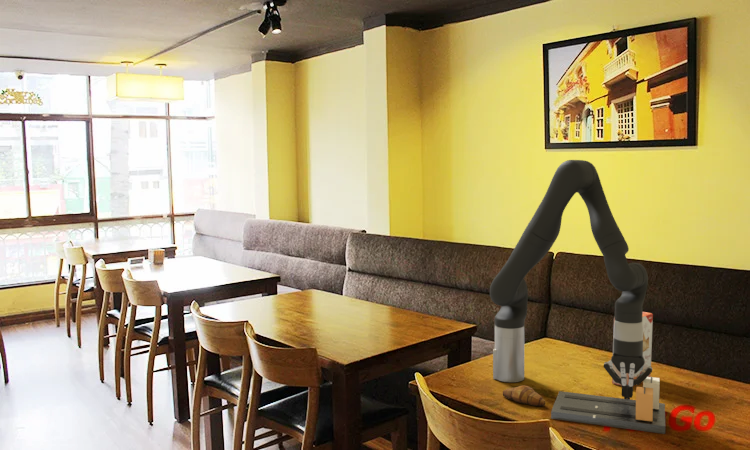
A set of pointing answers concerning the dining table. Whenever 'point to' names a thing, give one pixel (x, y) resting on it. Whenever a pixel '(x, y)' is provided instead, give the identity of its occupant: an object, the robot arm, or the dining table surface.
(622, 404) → the console
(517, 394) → the croissant
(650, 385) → the ivory fader
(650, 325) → the cracker box
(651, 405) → the orange block
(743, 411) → the dining table surface
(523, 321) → the robot arm
